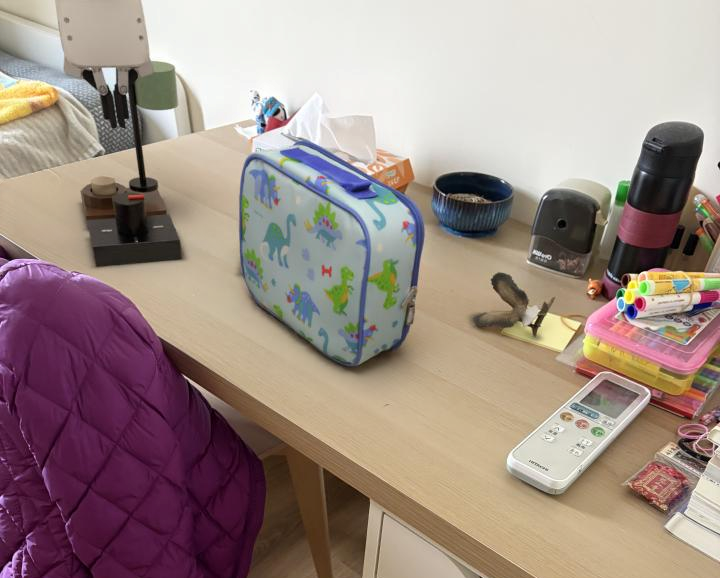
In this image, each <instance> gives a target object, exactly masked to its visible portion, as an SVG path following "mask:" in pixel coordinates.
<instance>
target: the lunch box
mask: <svg viewBox="0 0 720 578" xmlns="http://www.w3.org/2000/svg"><path fill="white" fill-rule="evenodd" d="M239 183H240V184H239V193H240V197H239V196H238V203H239V206H238V212H239V214H238V234H239V235H238V236H239V237H238V239H239V240H238V241H239V257H240V268H242V273H243V274H242V277H243V280H244V283H245V285H246V288H247V290H248V292H249V293H250V296H251V297H252V299H253V300H254V302H256V303H257V305H259V306H260V307H261V308H263V309H264V310H265V311H267V312H268V313H269V314H271V315H272V316H274V317H275V318H277V319H278V320H279V321H281V322H282V323H283V324H285V325H286V326H287V327H289V328H290V329H292V330H293V331H294V332H295V334H296V335H298V336H300V337H302V338H303V339H304V340H306V341H307V342H309V343H310V344H311V345H312V346H313V347H315V349H317V350H318V351H319V352H320V353H322V354H323V355H324V356H326V357H327V358H329V359H330V360H332V361H333V362H336V363H338V364H341V365H342V366H347V367H356V366H359V365H361V364H363V363H365V362H366V361H368V360H369V359H371V358H373V357H375V356H377V355H379V354H380V353H381V352H385V351H388V352H394V351H395V350H397V349H399V348H400V347H401V346H402V345H403V343H404V342H405V340H406V338H407V337H408V334H409V331H410V329H411V326H412V325H413V324H414V320H415V319H414V318H415V313H416V299H417V294H418V283H419V275H420V265H421V258H422V254H423V248H424V243H425V237H426V235H425V234H426V233H425V231H426V229H425V223H424V219H423V213H422V212H421V210H420V208H419V206H418V205H417V204H416V203H415V202H414V200H413V199H411V198H410V197H408V196H407V195H406V194H404V193H402V192H400V191H399V190H397V189H395V188H393V187H391V186H389V185H388V184H385V183H383V182H382V181H380V180H378V179H377V178H375V177H374V176H371V175H369V174H368V173H367V172H364V171H363V170H361V169H360V168H359V167H357V166H355V165H353V164H351V162H348V161H347V160H345V159H343V158H342V157H340V156H338V155H336V154H334V153H333V152H330V151H329V150H327V149H326V148H324V147H322V146H320V145H318V144H316V143H315V142H313V141H309V140H299V141H296V142H295V143H293V145H289V146H284V147H279V148H272V149H267V150H265V149H263V150H258V151H254V152H251V153H249V154H248V155H247V156H246V158H245V159H244V162H243V165H242V170H241V175H240V182H239Z"/></svg>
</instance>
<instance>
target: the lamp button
mask: <svg viewBox="0 0 720 578" xmlns="http://www.w3.org/2000/svg"><path fill="white" fill-rule="evenodd" d="M116 183H117V182H116V179H115V178H113V177H112V176H107V175H106V176H102V175H101V176H95V177H93V178H91V179H90V184H91V186H92V192H93V193H94V194H97V195H110V194H113V193H116V192H117V190H116Z"/></svg>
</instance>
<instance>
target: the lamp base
mask: <svg viewBox="0 0 720 578" xmlns="http://www.w3.org/2000/svg"><path fill="white" fill-rule="evenodd" d="M115 183H116V190H117V192H116V193H113V194H110V195H97V194H94V193H93V192H92V186H91V183H89V184H86V185H85V186H83V188H81V189H80V190H79V191H80V195H81V196H80V197H81V200H82V207H83V211H84V215H85V221H86V222H87V220H96V219H111V218H115V214H114V208H113V202H112V198H113V197H114V196H115V195H117V194H120V193H137V194H140V195H144V199H145V206H146V214H147V216H153V215H167V214H168V211H167V208H166V206H165V204H164V201H163V198H162V195H161V193H160V191H159V188H158V189H157V190H155V191H152V192H145V193H142V192H135V191H132V190H131V189H130V188H129V187H126V186H125V185H123V184H121V183H118V182H115ZM86 225H87V227H88V224H87V223H86ZM87 230H88V231H89V229H88V228H87Z"/></svg>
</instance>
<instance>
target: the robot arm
mask: <svg viewBox="0 0 720 578" xmlns="http://www.w3.org/2000/svg"><path fill="white" fill-rule="evenodd" d="M54 3H55V11H56V18H57V25H58V32H59V37H60V43H61V48H62V51H63V72H64V74H65V75H66V76H68V77H71V78H75V79H79V80H84V81H85V82H86V83H88V84H89V85H90V86H91V87H92V88H93V89H95V90H96V91H97V92H98V94H99V97H100V103H101V111H102V115H103V120H104V121H109V125H110V128H111V129H115V130H116V129H117V128H118V126H119V128H121V129H126V128H127V127H126V120H130V112H129V111H130V110H129V103H128V97H127V94H128V90H129V89H130V87H131V86H132V85H133V84H134V82H135V81H136V80H137V79H138V78H142V77H145V76H148V75H152V74H153V73H154V68H153V66H152V63H151V61H152V60H151V58H150V45H149V38H148V37H149V36H148V31H147V25H146V19H145V13H144V7H143V3H142V0H54ZM110 68H112V69H113V68H114V69H115V84H114V85H113V86H114V89H113V90H112V91H111V89H110V86H109V84H108V83H107V82H106V78H105V75H104V71H103V69H110Z"/></svg>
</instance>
